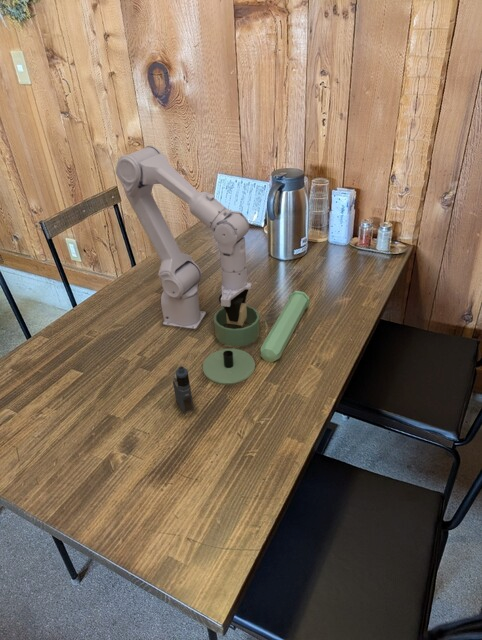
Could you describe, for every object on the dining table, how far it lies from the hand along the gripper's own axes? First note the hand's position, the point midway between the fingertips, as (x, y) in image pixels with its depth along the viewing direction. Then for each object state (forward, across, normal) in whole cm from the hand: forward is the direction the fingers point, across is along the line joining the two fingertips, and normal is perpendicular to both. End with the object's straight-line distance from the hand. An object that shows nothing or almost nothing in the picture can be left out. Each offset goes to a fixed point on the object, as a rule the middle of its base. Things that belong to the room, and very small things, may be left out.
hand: (236, 315), depth 110 cm
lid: (+5, -13, -2) cm, 14 cm away
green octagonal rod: (+6, +3, -12) cm, 13 cm away
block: (+1, 0, 0) cm, 1 cm away
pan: (+6, 0, 0) cm, 6 cm away
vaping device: (+6, -27, +3) cm, 28 cm away
